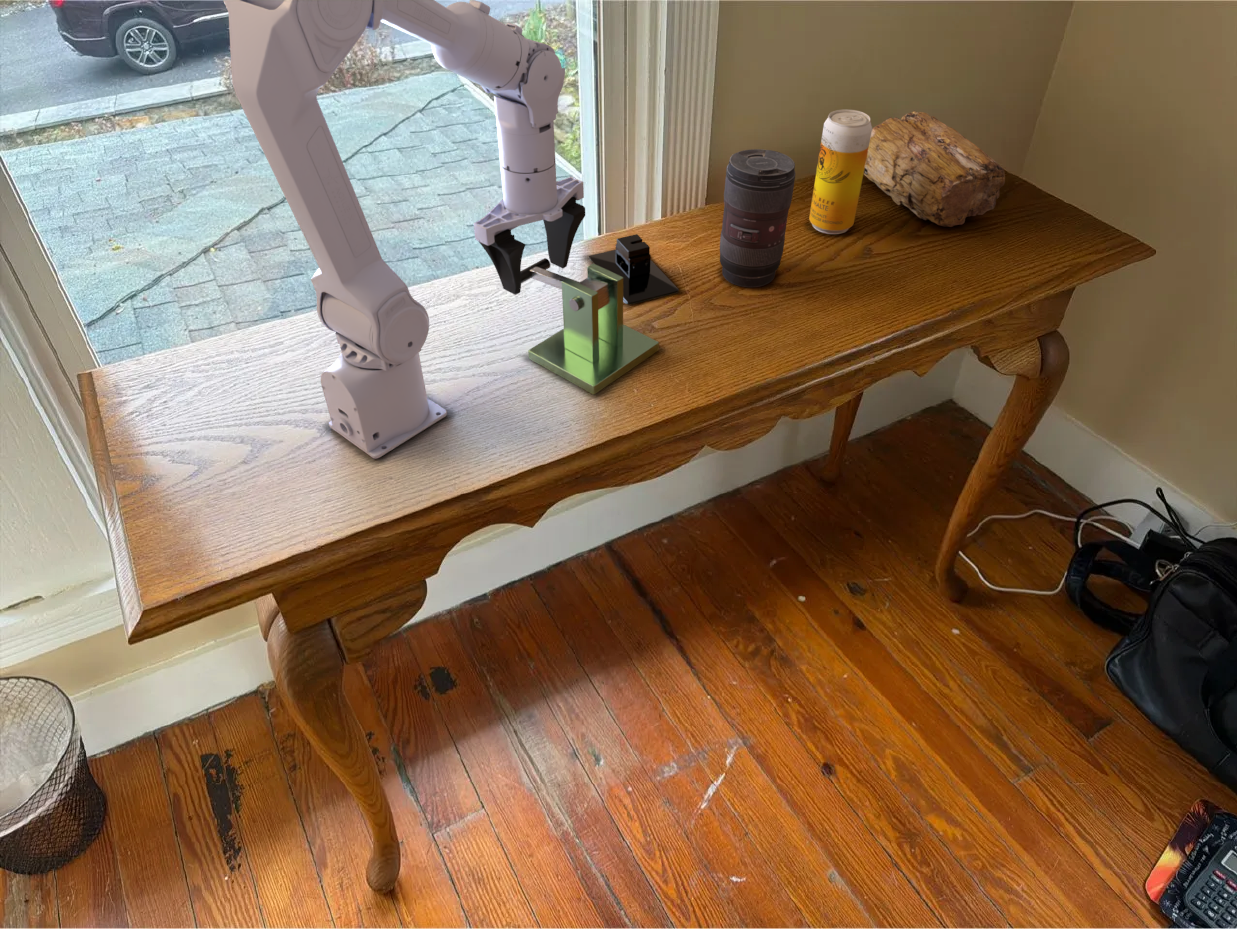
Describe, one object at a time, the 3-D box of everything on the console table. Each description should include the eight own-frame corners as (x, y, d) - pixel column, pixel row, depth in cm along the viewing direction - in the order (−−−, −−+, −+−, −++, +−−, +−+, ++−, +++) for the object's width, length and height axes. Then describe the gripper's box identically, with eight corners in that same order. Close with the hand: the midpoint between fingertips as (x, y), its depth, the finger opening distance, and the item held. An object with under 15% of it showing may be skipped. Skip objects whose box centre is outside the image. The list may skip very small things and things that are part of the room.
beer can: (800, 218, 126) (816, 111, 116) (839, 212, 127) (859, 105, 117) (820, 239, 122) (839, 129, 112) (860, 232, 123) (882, 123, 113)
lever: (513, 288, 102) (510, 269, 100) (544, 271, 105) (542, 252, 103) (587, 317, 95) (585, 296, 94) (618, 297, 98) (617, 277, 97)
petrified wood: (1006, 219, 125) (1016, 154, 117) (923, 253, 124) (927, 190, 116) (926, 158, 138) (930, 96, 130) (850, 188, 137) (850, 128, 129)
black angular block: (679, 293, 112) (681, 260, 109) (626, 306, 110) (626, 273, 107) (636, 246, 120) (637, 214, 117) (586, 258, 118) (585, 226, 115)
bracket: (528, 358, 102) (522, 283, 95) (594, 318, 108) (592, 244, 101) (593, 395, 97) (592, 318, 90) (658, 350, 103) (661, 275, 96)
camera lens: (792, 283, 114) (810, 169, 103) (735, 296, 111) (747, 181, 101) (761, 253, 119) (775, 142, 109) (706, 264, 117) (715, 152, 107)
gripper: (502, 197, 87) (513, 316, 96) (603, 150, 95) (604, 264, 104) (454, 176, 90) (469, 293, 100) (555, 132, 98) (560, 244, 108)
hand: (535, 277), depth 102 cm, fingers open, 7 cm apart
